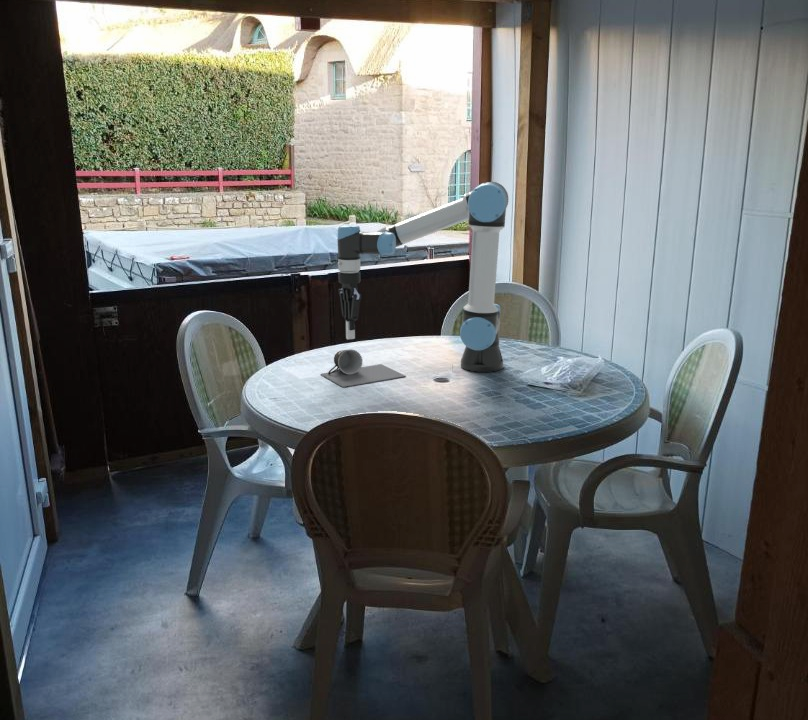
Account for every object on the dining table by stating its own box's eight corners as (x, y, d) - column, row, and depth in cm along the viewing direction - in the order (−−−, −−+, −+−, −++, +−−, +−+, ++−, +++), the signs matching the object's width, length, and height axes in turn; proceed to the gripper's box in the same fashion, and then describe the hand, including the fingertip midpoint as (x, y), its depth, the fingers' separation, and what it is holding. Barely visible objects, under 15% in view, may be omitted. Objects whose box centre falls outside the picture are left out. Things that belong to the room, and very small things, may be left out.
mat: (405, 376, 259) (405, 375, 258) (342, 387, 247) (342, 386, 246) (381, 365, 273) (381, 364, 272) (320, 374, 261) (320, 373, 260)
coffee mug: (353, 345, 269) (361, 348, 260) (355, 369, 270) (363, 372, 261) (321, 349, 265) (328, 351, 256) (323, 373, 266) (330, 377, 257)
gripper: (331, 269, 261) (332, 336, 268) (348, 274, 250) (349, 343, 257) (350, 267, 265) (351, 333, 271) (368, 273, 254) (368, 341, 261)
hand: (350, 338), depth 264 cm, fingers closed
